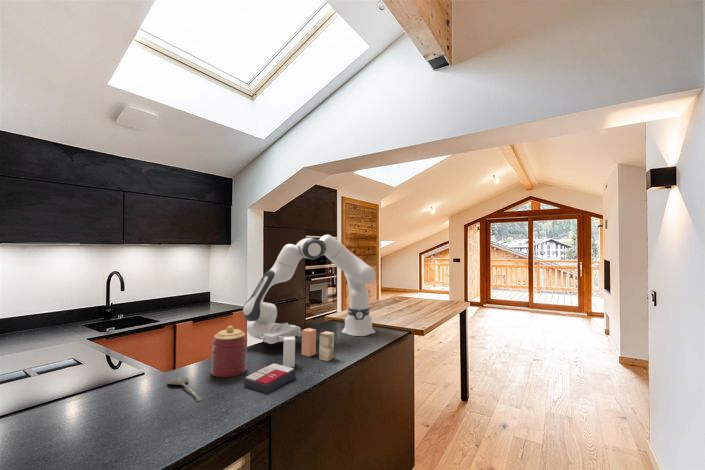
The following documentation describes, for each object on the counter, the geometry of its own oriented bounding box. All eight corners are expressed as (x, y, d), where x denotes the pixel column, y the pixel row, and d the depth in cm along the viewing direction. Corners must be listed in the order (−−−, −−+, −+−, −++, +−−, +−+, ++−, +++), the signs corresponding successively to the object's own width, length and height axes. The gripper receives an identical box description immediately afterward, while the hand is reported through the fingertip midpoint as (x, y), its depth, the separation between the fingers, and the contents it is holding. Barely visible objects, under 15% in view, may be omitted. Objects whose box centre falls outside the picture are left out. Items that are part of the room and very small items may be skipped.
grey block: (283, 363, 137) (283, 336, 138) (294, 362, 138) (294, 336, 139) (283, 367, 133) (283, 340, 133) (294, 366, 134) (295, 339, 134)
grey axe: (184, 381, 122) (164, 387, 117) (184, 371, 122) (164, 377, 117) (209, 399, 106) (187, 407, 101) (208, 388, 106) (187, 395, 102)
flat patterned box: (243, 376, 115) (273, 361, 128) (243, 388, 115) (273, 372, 128) (266, 383, 110) (295, 367, 123) (266, 396, 110) (296, 378, 123)
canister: (235, 380, 120) (236, 331, 121) (203, 376, 123) (204, 328, 124) (252, 367, 133) (253, 322, 134) (223, 364, 136) (224, 321, 136)
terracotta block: (308, 352, 153) (308, 328, 153) (315, 353, 150) (316, 329, 151) (301, 354, 149) (301, 330, 149) (309, 356, 146) (309, 331, 147)
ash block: (325, 356, 147) (325, 331, 148) (333, 358, 145) (334, 332, 145) (319, 359, 144) (319, 333, 144) (327, 361, 141) (327, 335, 141)
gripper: (257, 330, 153) (278, 335, 146) (288, 322, 170) (308, 325, 163) (256, 344, 153) (278, 349, 146) (287, 334, 170) (308, 338, 163)
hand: (294, 336), depth 154 cm, fingers open, 8 cm apart
